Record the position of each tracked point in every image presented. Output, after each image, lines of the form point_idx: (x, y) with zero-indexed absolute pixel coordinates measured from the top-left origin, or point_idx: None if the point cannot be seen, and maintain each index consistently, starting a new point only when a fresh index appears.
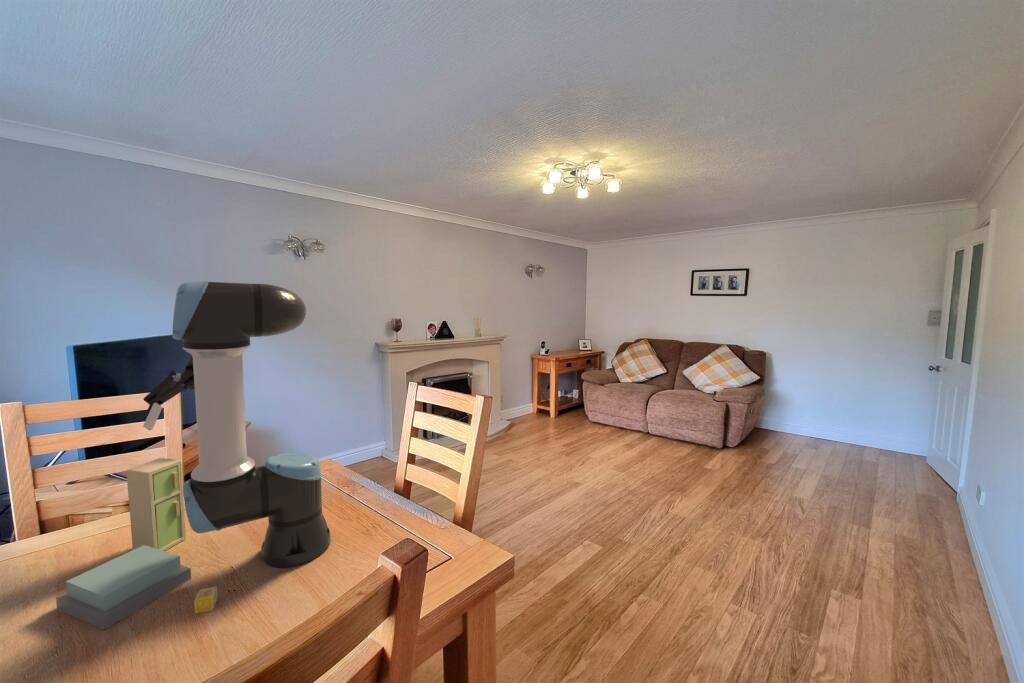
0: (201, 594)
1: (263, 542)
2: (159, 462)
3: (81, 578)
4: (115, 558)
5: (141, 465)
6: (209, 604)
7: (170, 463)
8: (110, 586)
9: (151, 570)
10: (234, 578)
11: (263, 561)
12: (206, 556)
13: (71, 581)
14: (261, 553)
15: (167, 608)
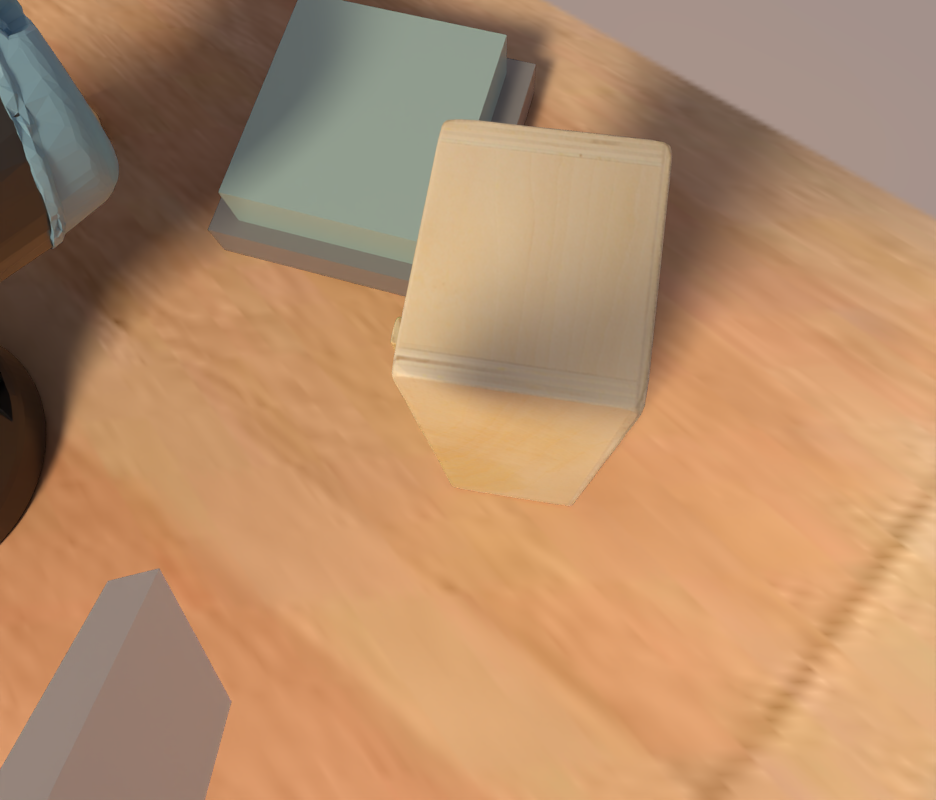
0: None
1: (9, 402)
2: (541, 303)
3: (468, 51)
4: None
5: (638, 229)
6: None
7: (420, 293)
8: (325, 30)
9: (257, 110)
10: (72, 265)
11: (6, 350)
12: (265, 375)
13: (486, 35)
14: (8, 361)
15: (196, 125)
